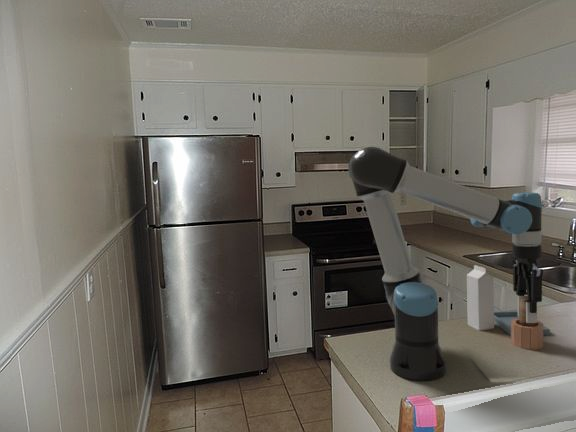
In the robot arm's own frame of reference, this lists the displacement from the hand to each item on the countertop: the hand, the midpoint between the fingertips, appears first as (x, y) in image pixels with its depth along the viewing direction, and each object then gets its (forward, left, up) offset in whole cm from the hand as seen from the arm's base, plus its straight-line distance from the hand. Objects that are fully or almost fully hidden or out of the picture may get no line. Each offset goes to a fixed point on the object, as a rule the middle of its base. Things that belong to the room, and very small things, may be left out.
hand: (526, 319), depth 124 cm
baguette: (0, 0, -8) cm, 8 cm away
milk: (-8, +15, -9) cm, 19 cm away
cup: (0, 0, -9) cm, 9 cm away
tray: (+4, +15, -9) cm, 18 cm away
